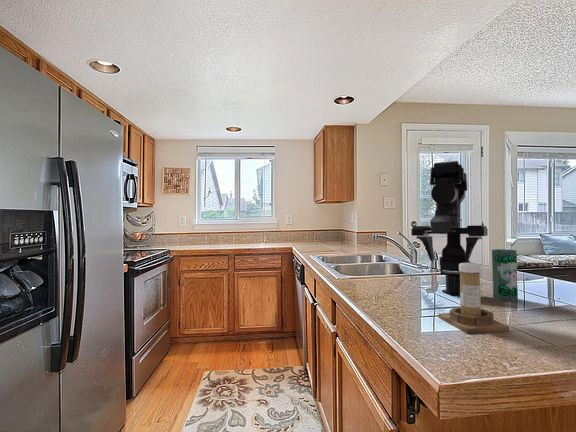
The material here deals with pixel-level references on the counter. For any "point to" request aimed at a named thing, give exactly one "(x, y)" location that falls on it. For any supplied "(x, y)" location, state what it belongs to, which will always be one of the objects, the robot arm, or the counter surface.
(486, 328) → the holder
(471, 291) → the sprinkles bottle
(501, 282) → the can
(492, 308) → the counter surface
